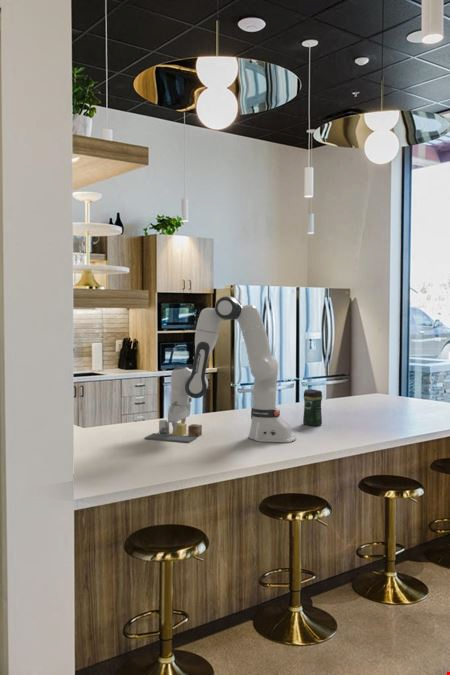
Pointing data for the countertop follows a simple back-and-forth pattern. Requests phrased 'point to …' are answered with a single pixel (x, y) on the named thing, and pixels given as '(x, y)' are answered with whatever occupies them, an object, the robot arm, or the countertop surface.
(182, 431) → the mustard block
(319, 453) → the countertop surface
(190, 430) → the walnut block
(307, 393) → the coffee jar
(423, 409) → the countertop surface
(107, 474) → the countertop surface
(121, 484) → the countertop surface
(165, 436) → the rubber mat
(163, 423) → the metal canister
